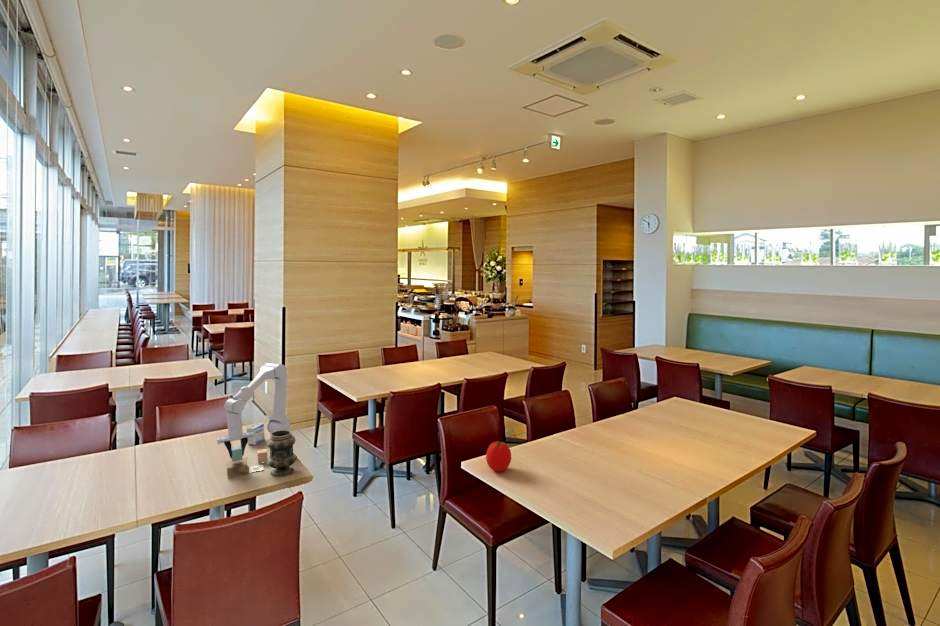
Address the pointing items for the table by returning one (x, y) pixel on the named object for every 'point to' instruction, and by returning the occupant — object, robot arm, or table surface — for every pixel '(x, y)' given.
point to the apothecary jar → (281, 453)
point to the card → (255, 468)
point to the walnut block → (237, 467)
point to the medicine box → (256, 433)
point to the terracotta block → (262, 455)
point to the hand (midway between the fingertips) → (236, 456)
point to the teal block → (236, 453)
